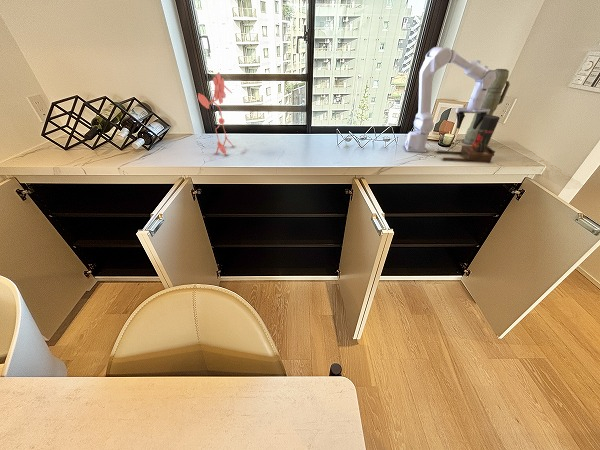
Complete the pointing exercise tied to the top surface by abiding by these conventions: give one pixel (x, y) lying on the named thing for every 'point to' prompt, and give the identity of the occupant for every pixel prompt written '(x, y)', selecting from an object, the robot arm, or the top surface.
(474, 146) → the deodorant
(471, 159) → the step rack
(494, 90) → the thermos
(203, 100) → the figurine
